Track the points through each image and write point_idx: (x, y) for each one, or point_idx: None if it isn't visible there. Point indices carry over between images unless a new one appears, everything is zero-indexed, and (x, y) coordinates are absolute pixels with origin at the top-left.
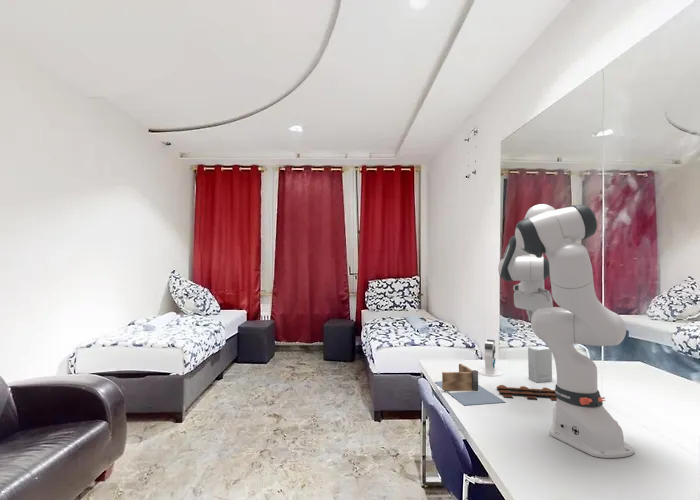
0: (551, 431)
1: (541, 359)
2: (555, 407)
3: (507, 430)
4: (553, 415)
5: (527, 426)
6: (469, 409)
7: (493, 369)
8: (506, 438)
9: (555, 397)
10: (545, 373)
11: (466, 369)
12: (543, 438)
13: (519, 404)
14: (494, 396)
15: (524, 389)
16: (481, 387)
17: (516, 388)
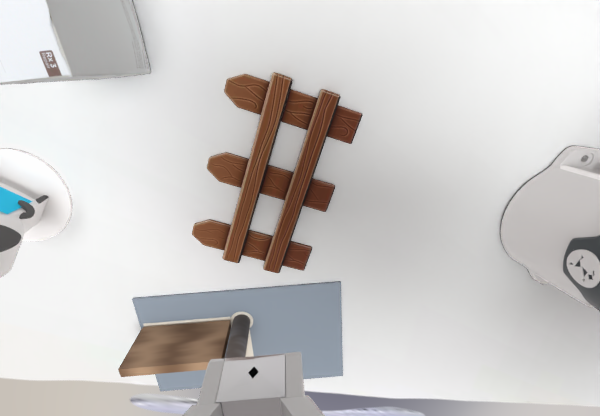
0: (544, 282)
1: (94, 38)
2: (593, 306)
3: (485, 343)
4: (566, 293)
5: (483, 300)
6: (365, 370)
7: (29, 198)
8: (513, 358)
9: (334, 118)
10: (124, 21)
11: (183, 368)
12: (541, 298)
13: (358, 253)
14: (295, 292)
15: (257, 186)
16: (215, 295)
17: (245, 208)
